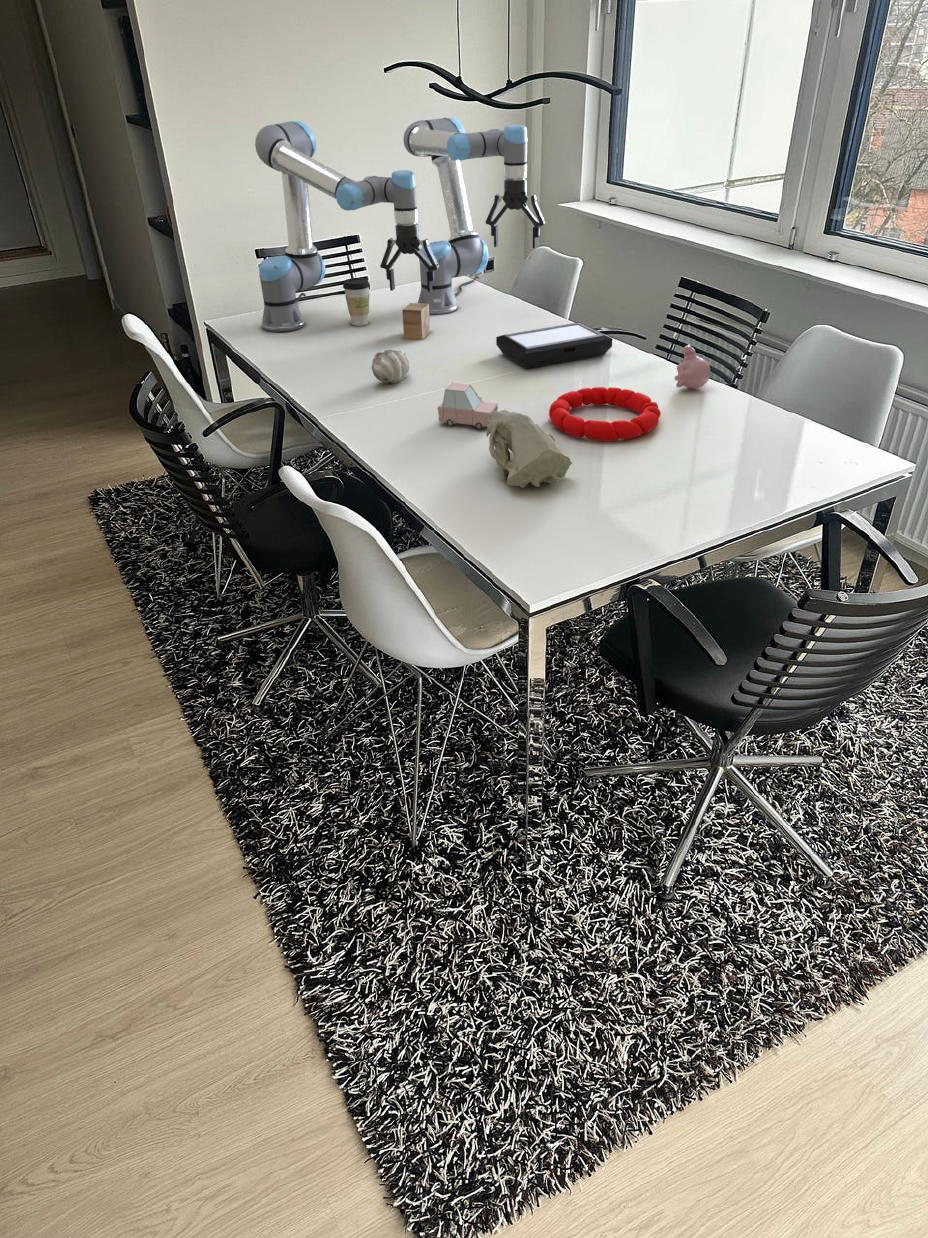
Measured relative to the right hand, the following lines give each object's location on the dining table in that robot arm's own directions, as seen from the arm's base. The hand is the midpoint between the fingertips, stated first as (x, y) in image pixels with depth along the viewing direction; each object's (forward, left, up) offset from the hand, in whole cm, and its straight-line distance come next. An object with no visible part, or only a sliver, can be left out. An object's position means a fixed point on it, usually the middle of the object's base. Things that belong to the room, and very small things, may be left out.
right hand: (515, 246), depth 306 cm
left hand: (+18, -33, -11) cm, 39 cm away
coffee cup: (+5, -57, -26) cm, 63 cm away
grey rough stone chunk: (+121, +19, -26) cm, 125 cm away
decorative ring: (+88, +37, -26) cm, 99 cm away
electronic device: (+33, +17, -26) cm, 45 cm away
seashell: (+64, -29, -26) cm, 75 cm away
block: (+16, -32, -26) cm, 45 cm away
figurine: (+59, +61, -26) cm, 89 cm away
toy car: (+93, +1, -26) cm, 97 cm away
